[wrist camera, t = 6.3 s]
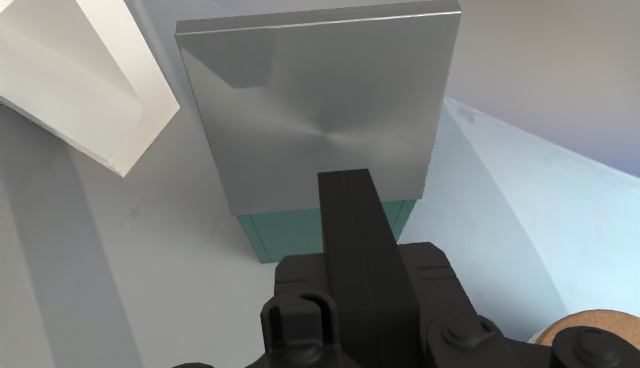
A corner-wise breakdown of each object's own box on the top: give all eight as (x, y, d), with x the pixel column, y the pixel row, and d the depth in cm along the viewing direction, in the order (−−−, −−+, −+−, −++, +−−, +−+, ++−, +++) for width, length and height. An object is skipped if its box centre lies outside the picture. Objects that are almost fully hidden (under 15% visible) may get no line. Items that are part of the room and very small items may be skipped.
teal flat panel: (255, 140, 45) (229, 50, 33) (374, 130, 45) (391, 37, 33) (261, 263, 40) (233, 212, 29) (392, 251, 41) (419, 196, 29)
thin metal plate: (175, 20, 19) (173, 34, 18) (457, -3, 19) (463, 11, 19) (232, 203, 28) (231, 216, 28) (419, 187, 29) (422, 199, 28)
